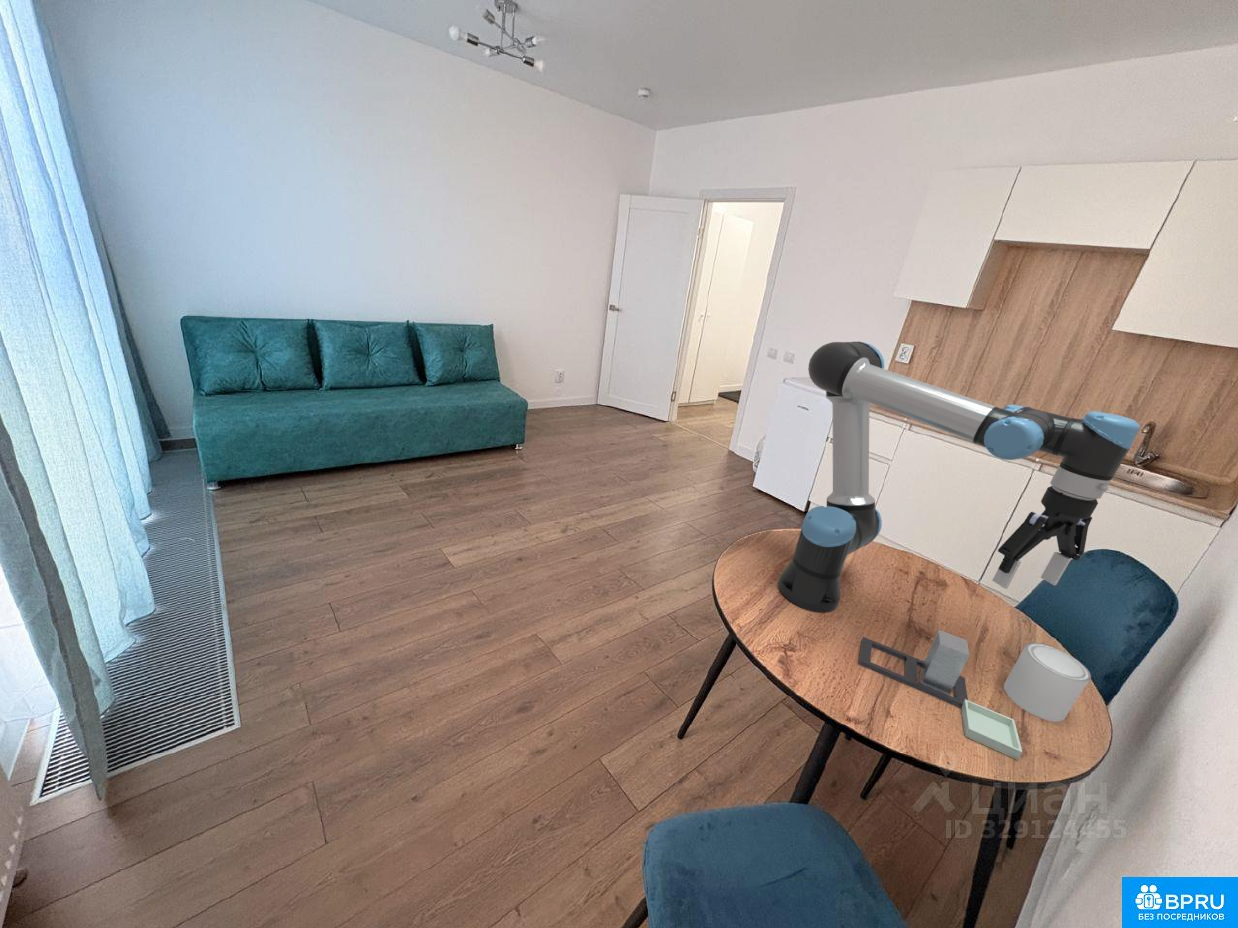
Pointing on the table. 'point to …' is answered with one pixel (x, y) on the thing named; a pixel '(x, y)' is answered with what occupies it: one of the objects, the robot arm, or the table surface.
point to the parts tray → (991, 729)
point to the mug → (1046, 681)
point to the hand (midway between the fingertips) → (1024, 582)
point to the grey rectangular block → (944, 662)
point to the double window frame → (910, 672)
